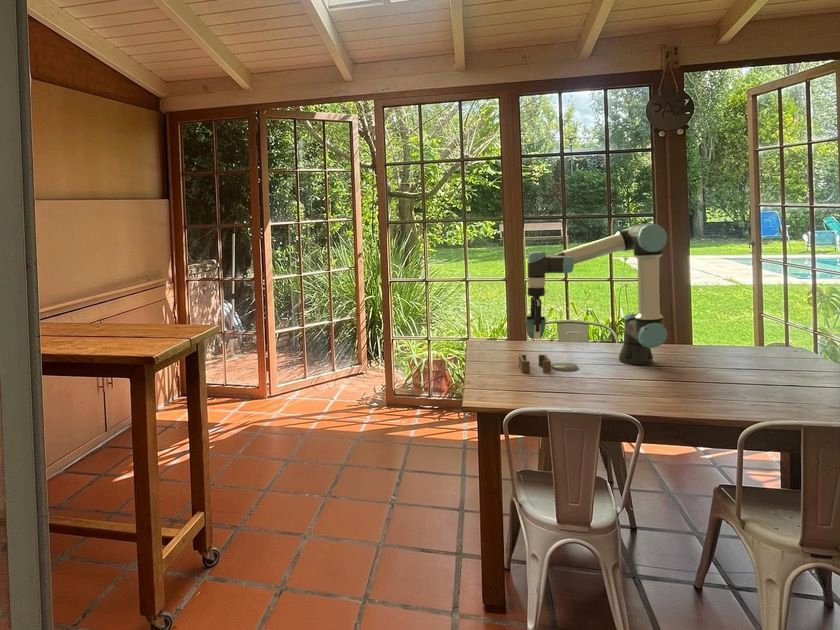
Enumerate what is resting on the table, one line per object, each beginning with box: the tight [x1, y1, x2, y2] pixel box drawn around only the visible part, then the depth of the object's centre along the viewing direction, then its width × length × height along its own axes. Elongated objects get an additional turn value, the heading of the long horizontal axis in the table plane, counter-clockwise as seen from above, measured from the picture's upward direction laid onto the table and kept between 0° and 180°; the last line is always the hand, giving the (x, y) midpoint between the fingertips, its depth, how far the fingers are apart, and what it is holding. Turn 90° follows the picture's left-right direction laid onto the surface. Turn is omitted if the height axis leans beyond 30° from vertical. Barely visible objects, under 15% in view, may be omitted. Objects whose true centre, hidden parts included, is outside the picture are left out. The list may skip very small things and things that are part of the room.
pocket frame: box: [518, 354, 552, 374], centre depth 242 cm, size 13×13×5 cm
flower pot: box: [525, 315, 547, 339], centre depth 239 cm, size 9×9×9 cm
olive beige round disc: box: [551, 362, 579, 372], centre depth 244 cm, size 12×12×1 cm
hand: (535, 336), depth 240 cm, fingers closed on flower pot, 9 cm apart
